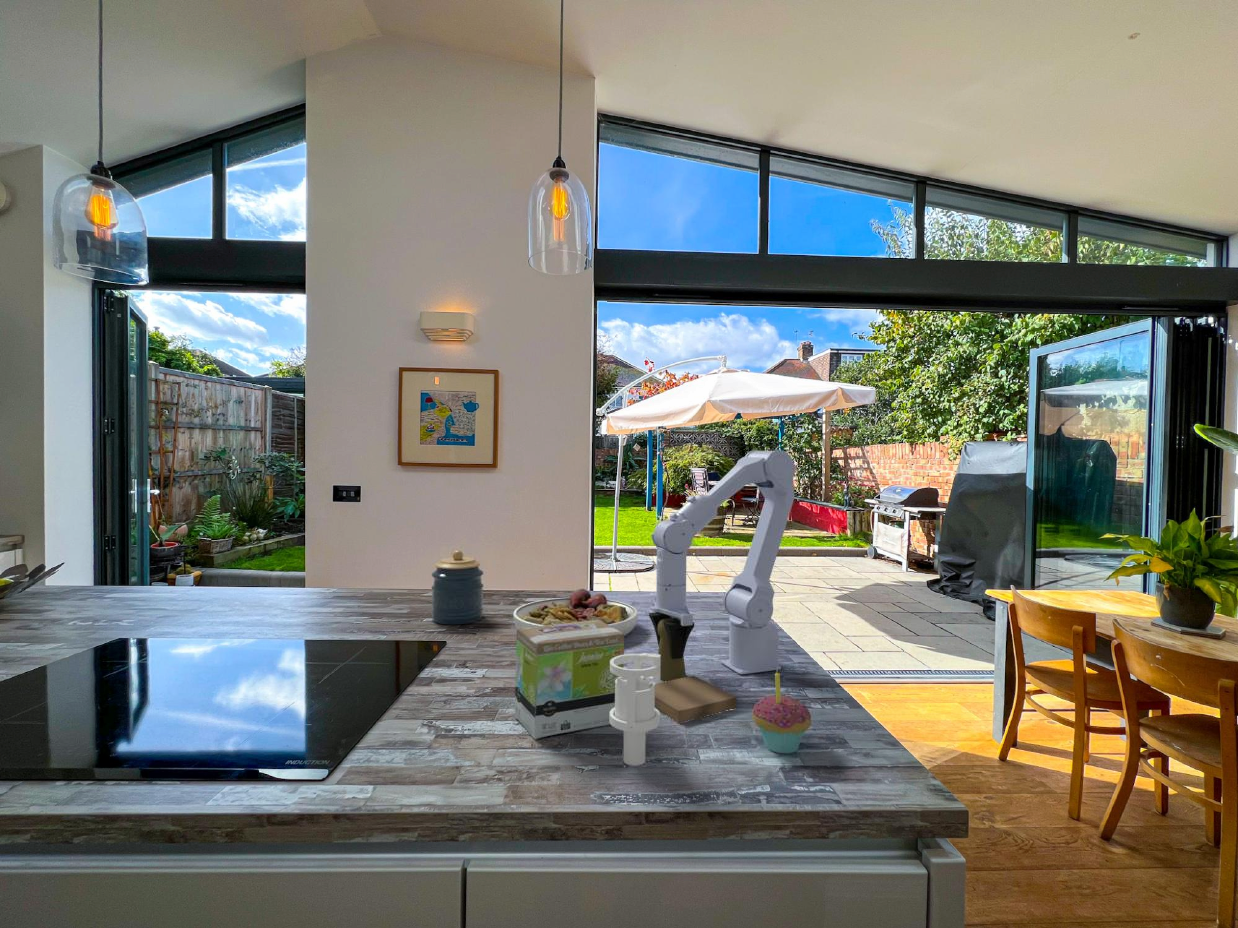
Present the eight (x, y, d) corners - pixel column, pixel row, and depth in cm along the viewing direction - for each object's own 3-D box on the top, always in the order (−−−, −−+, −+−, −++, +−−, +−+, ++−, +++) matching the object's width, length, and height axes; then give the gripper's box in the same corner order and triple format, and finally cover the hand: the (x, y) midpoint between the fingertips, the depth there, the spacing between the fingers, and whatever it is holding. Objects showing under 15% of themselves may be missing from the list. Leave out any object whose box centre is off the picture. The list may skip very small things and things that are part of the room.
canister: (422, 623, 159) (422, 553, 159) (444, 611, 172) (445, 546, 172) (471, 626, 157) (471, 555, 157) (490, 613, 170) (491, 547, 170)
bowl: (638, 651, 140) (639, 615, 140) (502, 649, 140) (502, 613, 140) (636, 616, 170) (636, 586, 170) (524, 615, 170) (524, 585, 170)
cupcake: (801, 765, 88) (802, 679, 88) (742, 749, 93) (743, 667, 92) (817, 741, 95) (818, 662, 95) (762, 728, 100) (763, 652, 100)
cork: (684, 683, 119) (685, 624, 119) (652, 680, 121) (653, 622, 120) (687, 672, 125) (688, 616, 125) (657, 670, 127) (657, 614, 126)
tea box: (535, 742, 95) (535, 643, 94) (513, 717, 103) (514, 626, 103) (624, 723, 101) (625, 630, 101) (597, 701, 110) (598, 616, 110)
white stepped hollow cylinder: (656, 774, 85) (657, 663, 85) (604, 769, 86) (605, 659, 86) (662, 750, 92) (663, 647, 92) (614, 746, 93) (614, 644, 93)
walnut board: (693, 688, 118) (693, 675, 118) (736, 711, 108) (736, 697, 108) (638, 701, 112) (638, 686, 112) (678, 726, 102) (678, 710, 101)
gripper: (637, 577, 128) (637, 644, 128) (668, 592, 114) (667, 667, 115) (669, 575, 131) (669, 641, 131) (703, 589, 117) (702, 663, 117)
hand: (670, 653), depth 123 cm, fingers closed on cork, 5 cm apart
